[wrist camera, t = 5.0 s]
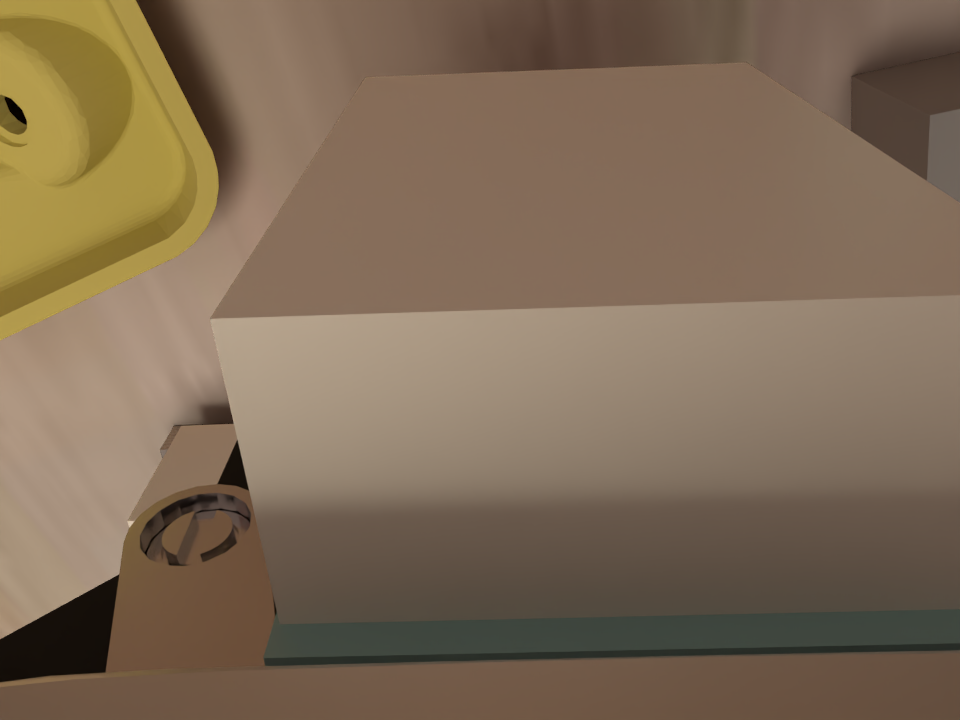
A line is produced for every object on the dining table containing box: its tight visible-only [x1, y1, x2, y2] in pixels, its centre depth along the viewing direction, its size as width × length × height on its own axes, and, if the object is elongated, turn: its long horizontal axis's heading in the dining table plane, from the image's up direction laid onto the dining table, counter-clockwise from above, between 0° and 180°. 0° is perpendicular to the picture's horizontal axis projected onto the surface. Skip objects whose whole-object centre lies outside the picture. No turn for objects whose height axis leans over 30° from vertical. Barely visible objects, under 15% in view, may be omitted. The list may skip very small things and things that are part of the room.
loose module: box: [210, 62, 960, 666], centre depth 10 cm, size 5×8×7 cm, turn 2°
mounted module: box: [127, 424, 237, 527], centre depth 30 cm, size 5×14×5 cm, turn 3°
